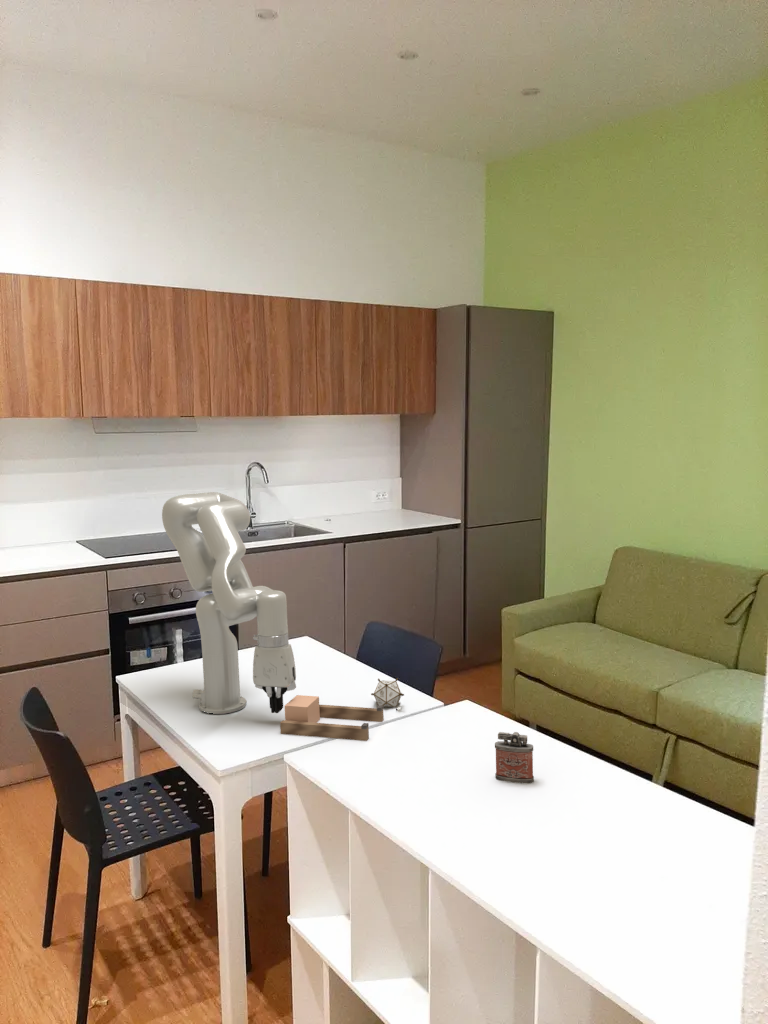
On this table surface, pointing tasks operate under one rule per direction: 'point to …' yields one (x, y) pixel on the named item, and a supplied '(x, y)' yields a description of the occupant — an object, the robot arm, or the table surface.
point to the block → (303, 709)
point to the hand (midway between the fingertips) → (276, 711)
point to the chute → (336, 729)
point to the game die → (387, 693)
